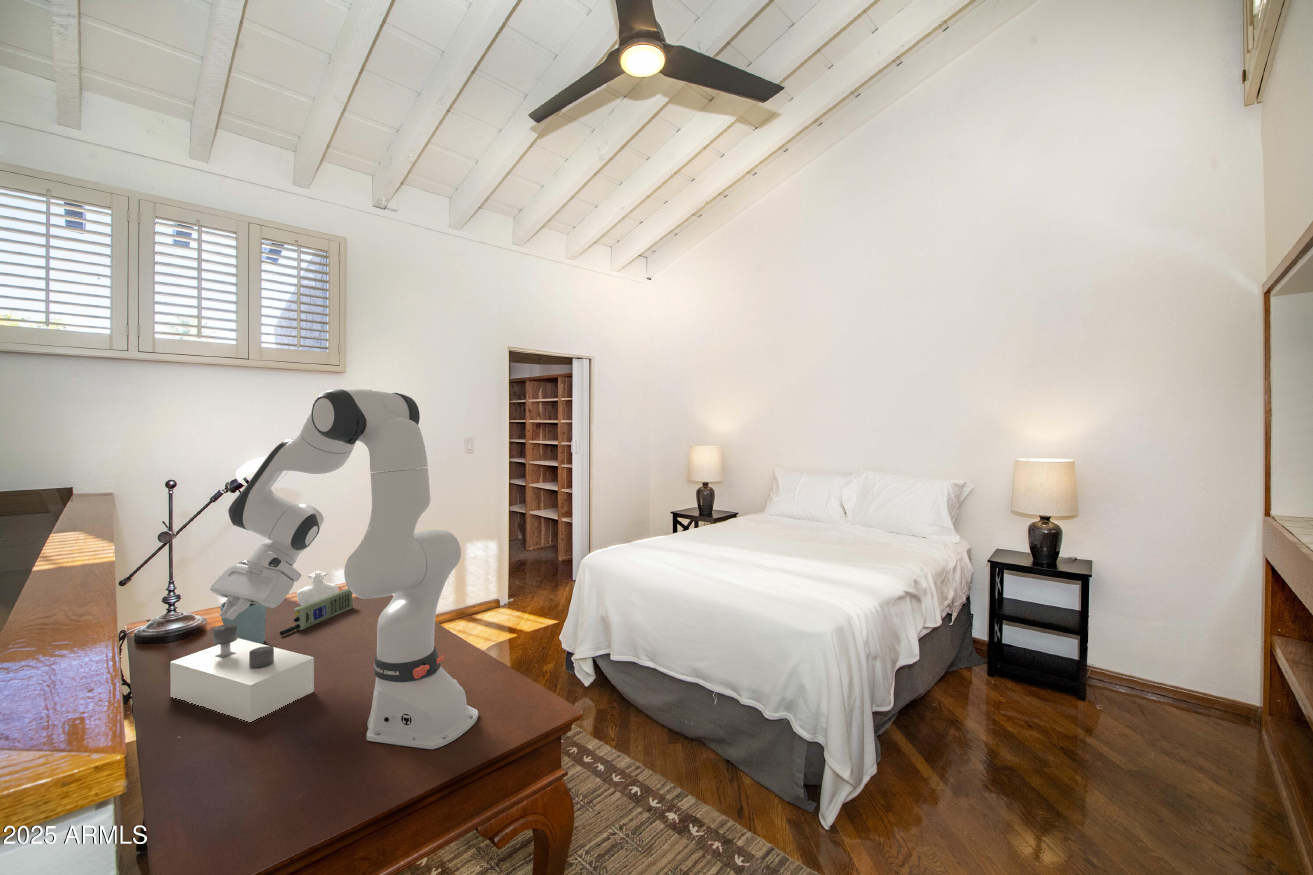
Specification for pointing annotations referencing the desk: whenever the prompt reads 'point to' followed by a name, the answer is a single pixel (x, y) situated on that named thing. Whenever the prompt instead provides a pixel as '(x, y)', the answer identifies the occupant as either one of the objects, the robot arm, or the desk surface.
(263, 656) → the knob
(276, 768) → the desk surface
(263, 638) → the teal plant pot
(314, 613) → the handheld radio
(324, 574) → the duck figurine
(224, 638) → the knob
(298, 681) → the control block
